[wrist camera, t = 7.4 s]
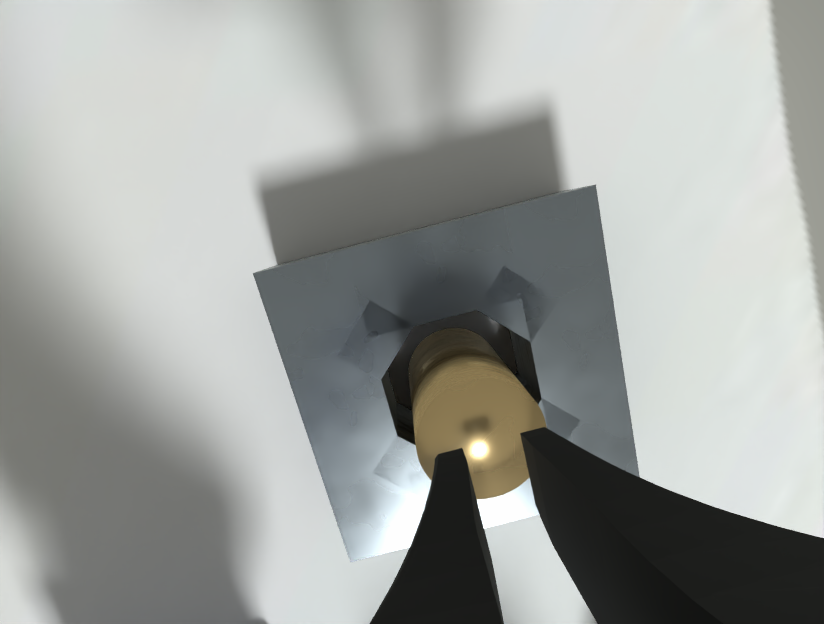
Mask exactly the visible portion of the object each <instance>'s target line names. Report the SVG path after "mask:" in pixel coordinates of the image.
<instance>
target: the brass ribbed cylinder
mask: <svg viewBox="0 0 824 624" xmlns="http://www.w3.org/2000/svg"><path fill="white" fill-rule="evenodd" d="M408 375H409V386H410V395H411V405H412V414H413V424H414V434H415V443H416V451H417V456H418V459H419V462H420V465H421V467H422V469H423V471H424V472H425V473H426V475H427V476H428V477H429V479H430V480H431V481H432V477H433V471H434V464H435V458H436V456H437V455H438V454H440V453H444V452H448V451H452V450H456V449H460V448H462V449H463V451H464V454H465V457H466V460H467V463H468V467H469V471H470V475H471V479H472V483H473V487H474V491H475V495H476V499H488V498H494V497H497V496H501V495H504V494H506V493H508V492H510V491H512V490H514V489H516V488H517V487H519V486H520V485H521V484H523V483H524V482H525V481H526V480H527V479H528V478H529V472H528V468H527V463H526V458H525V454H524V449H523V444H522V440H521V435H520V433H522V432H526V431H530V430H534V429H538V428H542V427H546V428H547V426H546V422H545V418H544V415H543V413H542V411H541V409H540V407H539V406H538V404H537V403H536V401H535V400H534V399H533V398H532V396H531V395H530V394H529V393H528V391H527V390H526V389H525V388H524V387H523V385H522V384H521V383H520V382H519V380H518V379H517V378H516V377H515V375H514V374H513V373H512V372H511V370H510V369H509V368H508V367H507V365H506V364H505V363H504V362H503V361H502V359H501V358H500V357H499V356H498V354H497V353H496V352H495V351H494V349H493V348H492V347H491V346H490V345H489V343H488V342H487V341H486V340H485V339H484V338H483V337H481V336H480V335H478V334H477V333H475V332H473V331H470V330H467V329H462V328H448V329H443V330H440V331H437V332H435V333H433V334H431V335H429V336H428V337H426V338H425V339H424V340H423V341H422V342H421V343H420V344H419V345H418V346H417V348H416V349H415V351H414V352H413V354H412V357H411V359H410V363H409V370H408Z"/></svg>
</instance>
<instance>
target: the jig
mask: <svg viewBox="0 0 824 624" xmlns="http://www.w3.org/2000/svg"><path fill="white" fill-rule="evenodd" d="M253 275H254V278H255V281H256V284H257V287H258V290H259V293H260V296H261V299H262V302H263V305H264V308H265V311H266V313H267V316H268V319H269V322H270V325H271V328H272V331H273V334H274V337H275V340H276V343H277V346H278V349H279V352H280V355H281V358H282V361H283V364H284V367H285V370H286V373H287V376H288V379H289V382H290V385H291V388H292V391H293V393H294V396H295V399H296V402H297V405H298V408H299V411H300V414H301V417H302V420H303V423H304V426H305V429H306V432H307V435H308V438H309V441H310V444H311V447H312V450H313V453H314V456H315V459H316V462H317V465H318V468H319V471H320V474H321V476H322V479H323V482H324V485H325V488H326V491H327V494H328V497H329V500H330V503H331V506H332V509H333V512H334V515H335V518H336V521H337V524H338V527H339V530H340V533H341V536H342V539H343V542H344V545H345V548H346V551H347V554H348V556H349V559H350V562H353V561H357V560H361V559H365V558H369V557H373V556H377V555H381V554H385V553H389V552H393V551H397V550H401V549H405V548H409V547H410V546H411V543H412V541H413V538H414V535H415V533H416V530H417V527H418V525H419V522H420V519H421V516H422V513H423V510H424V507H425V504H426V500H427V497H428V493H429V490H430V486H431V480H430V479H429V477H428V476H427V475H426V473H425V472H424V471H423V469H422V467H421V465H420V462H419V459H418V456H417V451H416V443H415V434H414V424H413V414H412V411H411V410H410V409H408V408H406V407H404V406H402V405H400V404H398V403H396V399H395V395H394V392H393V388H392V385H391V381H390V378H389V374H388V371H387V369H388V368H389V366H390V364H391V363H392V361H393V359H394V358H395V356H396V355H397V353H398V351H399V350H400V348H401V346H402V345H403V343H404V341H405V340H406V338H407V336H408V335H409V333H410V332H411V330H412V328H413V327H414V326H417V325H421V324H425V323H428V322H432V321H436V320H440V319H444V318H448V317H452V316H456V315H460V314H463V313H467V312H471V311H475V310H478V311H479V312H481V313H483V314H484V315H486V316H488V317H490V318H491V319H493V320H495V321H496V322H498V323H500V324H501V325H503V326H505V327H506V328H508V329H509V331H510V335H511V340H512V345H513V350H514V355H515V359H516V364H517V369H518V372H517V374H516V375H515V377H516V378H517V379H518V380H519V382H520V383H521V384H522V385H523V387H524V388H525V389H526V390H527V391H528V393H529V394H530V395H531V396H532V398H533V399H534V400H535V401H536V403H537V404H538V406H539V407H540V409H541V411H542V413H543V415H544V418H545V422H546V426H547V429H549V430H551V431H553V432H555V433H556V434H558V435H560V436H561V437H563V438H565V439H567V440H568V441H570V442H572V443H574V444H575V445H577V446H579V447H581V448H582V449H584V450H586V451H588V452H590V453H591V454H593V455H595V456H597V457H599V458H601V459H603V460H605V461H607V462H609V463H610V464H612V465H614V466H616V467H618V468H620V469H623V470H625V471H627V472H629V473H631V474H633V475H635V476H638V477H639V470H638V464H637V457H636V450H635V444H634V437H633V430H632V424H631V417H630V410H629V404H628V397H627V390H626V384H625V377H624V370H623V364H622V357H621V350H620V344H619V337H618V330H617V324H616V317H615V310H614V304H613V297H612V290H611V284H610V277H609V270H608V264H607V257H606V250H605V244H604V237H603V230H602V224H601V217H600V210H599V204H598V197H597V190H596V185H592V186H587V187H582V188H577V189H572V190H567V191H562V192H558V193H554V194H550V195H546V196H542V197H538V198H534V199H531V200H527V201H523V202H519V203H515V204H511V205H507V206H503V207H500V208H496V209H492V210H488V211H484V212H480V213H476V214H473V215H469V216H465V217H461V218H457V219H453V220H449V221H446V222H442V223H438V224H434V225H430V226H426V227H422V228H418V229H415V230H411V231H407V232H403V233H399V234H395V235H391V236H388V237H384V238H380V239H376V240H372V241H368V242H364V243H361V244H357V245H353V246H349V247H345V248H341V249H337V250H333V251H330V252H326V253H322V254H318V255H314V256H310V257H306V258H303V259H299V260H295V261H291V262H287V263H283V264H279V265H276V266H273V267H270V268H267V269H264V270H261V271H258V272H256V273H253ZM477 503H478V507H479V511H480V515H481V519H482V523H483V527H484V528H488V527H492V526H496V525H500V524H504V523H508V522H512V521H516V520H520V519H523V518H527V517H531V516H535V515H539V512H538V510H537V507H536V505H535V500H534V496H533V491H532V486H531V482H530V477H529V478H528V479H527V480H526V481H525V482H524V483H523V484H521V485H520V486H519V487H517V488H516V489H514V490H512V491H510V492H508V493H506V494H504V495H501V496H497V497H494V498H488V499H477Z"/></svg>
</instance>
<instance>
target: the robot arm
mask: <svg viewBox="0 0 824 624" xmlns="http://www.w3.org/2000/svg"><path fill="white" fill-rule="evenodd" d="M520 435H521V440H522V444H523V449H524V454H525V458H526V463H527V468H528V472H529V477H530V482H531V486H532V491H533V496H534V500H535V505H536V507H537V510H538V512H539V514H540V517H541V519H542V521H543V524H544V526H545V528H546V531H547V533H548V535H549V537H550V540H551V542H552V544H553V546H554V548H555V550H556V551H557V553H558V555H559V557H560V559H561V560H562V562H563V564H564V566H565V567H566V569H567V571H568V573H569V574H570V576H571V578H572V580H573V581H574V583H575V585H576V587H577V588H578V590H579V592H580V594H581V595H582V597H583V599H584V601H585V602H586V604H587V606H588V608H589V609H590V611H591V613H592V615H593V616H594V618H595V620H596V622H597V623H598V624H824V538H820V537H816V536H812V535H808V534H804V533H800V532H796V531H793V530H789V529H785V528H781V527H777V526H774V525H771V524H767V523H764V522H761V521H757V520H754V519H750V518H747V517H744V516H740V515H737V514H734V513H731V512H728V511H725V510H722V509H719V508H715V507H712V506H710V505H707V504H704V503H701V502H699V501H696V500H693V499H691V498H688V497H685V496H683V495H680V494H677V493H675V492H672V491H670V490H667V489H665V488H662V487H660V486H657V485H655V484H653V483H651V482H648V481H646V480H644V479H642V478H640V477H638V476H635V475H633V474H631V473H629V472H627V471H625V470H623V469H620V468H618V467H616V466H614V465H612V464H610V463H609V462H607V461H605V460H603V459H601V458H599V457H597V456H595V455H593V454H591V453H590V452H588V451H586V450H584V449H582V448H581V447H579V446H577V445H575V444H574V443H572V442H570V441H568V440H567V439H565V438H563V437H561V436H560V435H558V434H556V433H555V432H553V431H551V430H549V429H547V428H546V427H542V428H538V429H534V430H530V431H526V432H522V433H520ZM370 624H504V622H503V616H502V611H501V606H500V601H499V595H498V590H497V585H496V580H495V574H494V569H493V564H492V559H491V555H490V551H489V547H488V543H487V539H486V535H485V531H484V527H483V523H482V519H481V515H480V511H479V507H478V503H477V499H476V495H475V491H474V487H473V483H472V479H471V475H470V471H469V467H468V463H467V460H466V457H465V454H464V451H463V449H462V448H460V449H456V450H452V451H448V452H444V453H440V454H438V455H437V456H436V458H435V464H434V471H433V477H432V481H431V486H430V490H429V493H428V497H427V500H426V504H425V507H424V510H423V513H422V516H421V519H420V522H419V525H418V527H417V530H416V533H415V535H414V538H413V541H412V543H411V546H410V548H409V550H408V552H407V555H406V557H405V559H404V561H403V564H402V566H401V568H400V570H399V572H398V574H397V576H396V578H395V580H394V582H393V584H392V586H391V587H390V589H389V591H388V593H387V595H386V596H385V598H384V600H383V602H382V603H381V605H380V607H379V609H378V611H377V612H376V614H375V616H374V617H373V619H372V621H371V622H370Z"/></svg>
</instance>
